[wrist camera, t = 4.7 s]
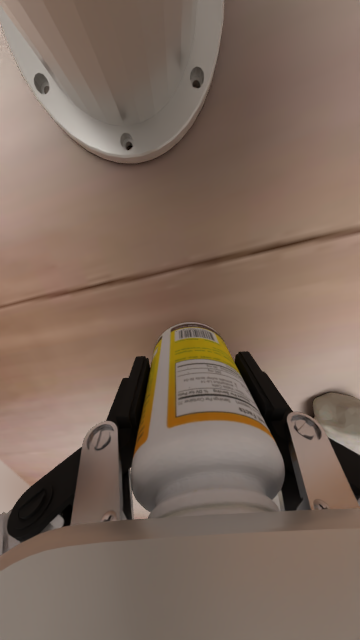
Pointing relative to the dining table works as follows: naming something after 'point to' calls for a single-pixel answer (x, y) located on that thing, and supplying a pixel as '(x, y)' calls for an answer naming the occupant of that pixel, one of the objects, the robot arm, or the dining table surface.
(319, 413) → the ceramic sculpture
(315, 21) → the dining table surface
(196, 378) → the supplement bottle
